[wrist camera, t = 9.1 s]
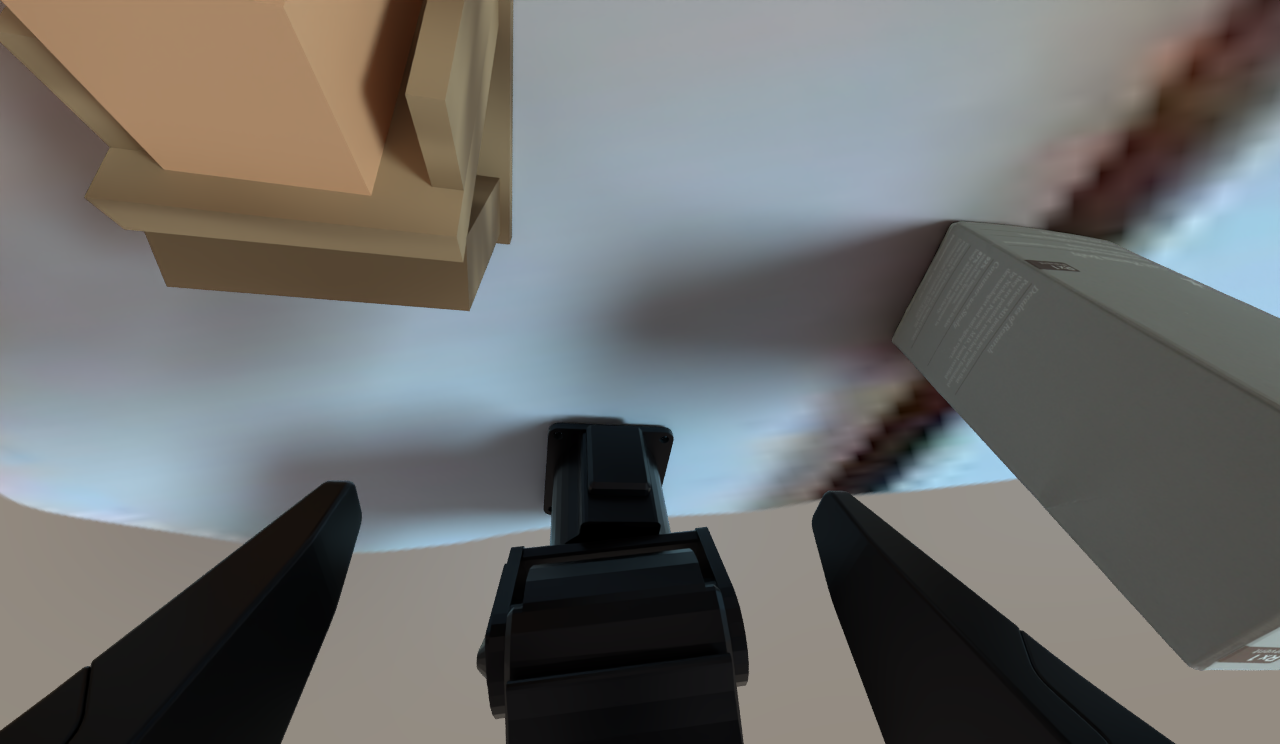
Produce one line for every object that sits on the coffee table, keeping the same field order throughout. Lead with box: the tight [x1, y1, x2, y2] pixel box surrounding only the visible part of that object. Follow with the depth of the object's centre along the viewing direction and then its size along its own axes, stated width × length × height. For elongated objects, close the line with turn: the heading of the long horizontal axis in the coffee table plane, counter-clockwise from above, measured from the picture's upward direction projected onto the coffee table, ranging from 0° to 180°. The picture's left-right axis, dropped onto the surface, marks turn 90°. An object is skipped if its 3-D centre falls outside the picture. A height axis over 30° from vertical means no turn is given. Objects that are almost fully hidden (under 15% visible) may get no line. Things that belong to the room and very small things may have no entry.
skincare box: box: [892, 221, 1280, 671], centre depth 17 cm, size 8×7×16 cm
